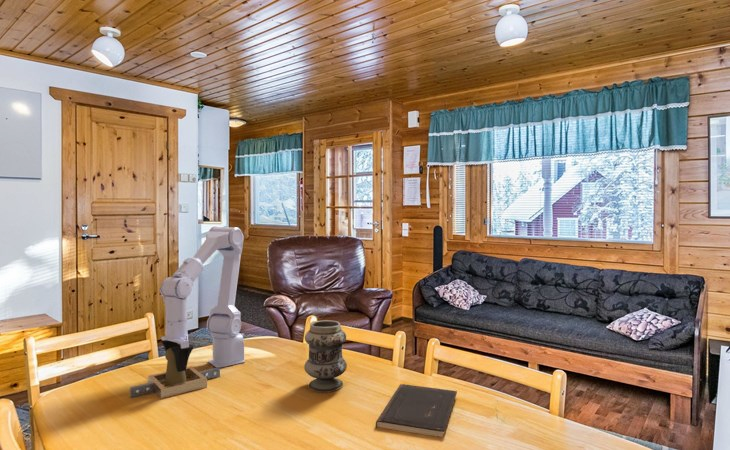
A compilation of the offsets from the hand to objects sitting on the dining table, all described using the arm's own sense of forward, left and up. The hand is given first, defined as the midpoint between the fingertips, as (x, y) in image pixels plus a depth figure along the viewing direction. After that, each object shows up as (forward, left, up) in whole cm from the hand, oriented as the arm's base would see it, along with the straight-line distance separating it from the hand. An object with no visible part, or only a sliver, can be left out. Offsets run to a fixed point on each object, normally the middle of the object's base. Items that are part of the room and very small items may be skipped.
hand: (177, 367), depth 133 cm
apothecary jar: (-33, +26, -6) cm, 42 cm away
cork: (0, 0, -6) cm, 6 cm away
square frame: (0, 0, -5) cm, 5 cm away
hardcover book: (-42, +54, -6) cm, 69 cm away
